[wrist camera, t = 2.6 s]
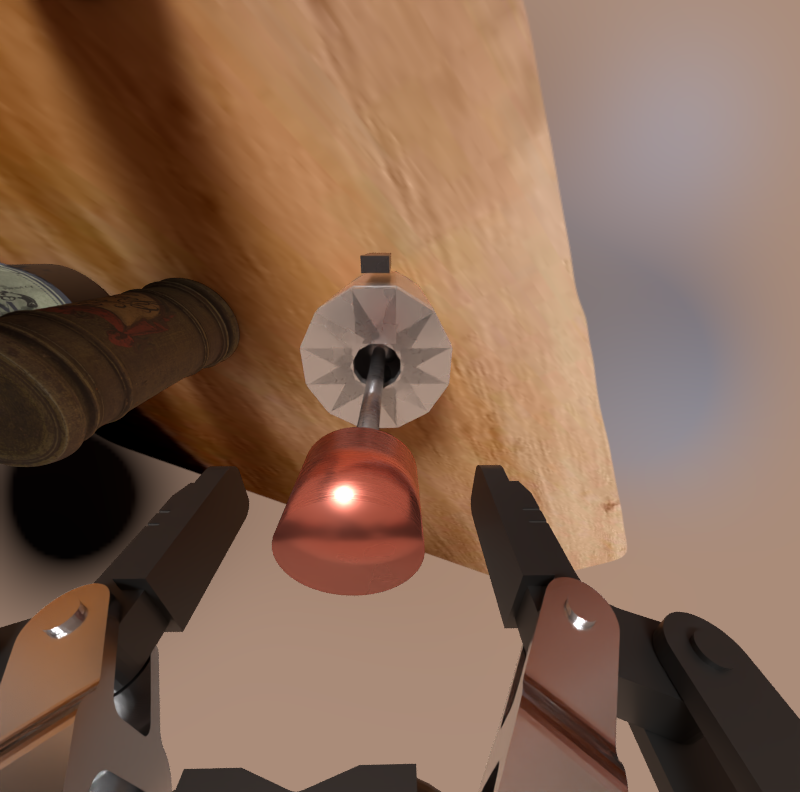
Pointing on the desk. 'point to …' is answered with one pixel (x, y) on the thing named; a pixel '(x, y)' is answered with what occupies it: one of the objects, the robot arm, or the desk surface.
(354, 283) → the press carafe
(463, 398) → the desk surface
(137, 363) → the container
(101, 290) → the olive oil
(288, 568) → the plunger
